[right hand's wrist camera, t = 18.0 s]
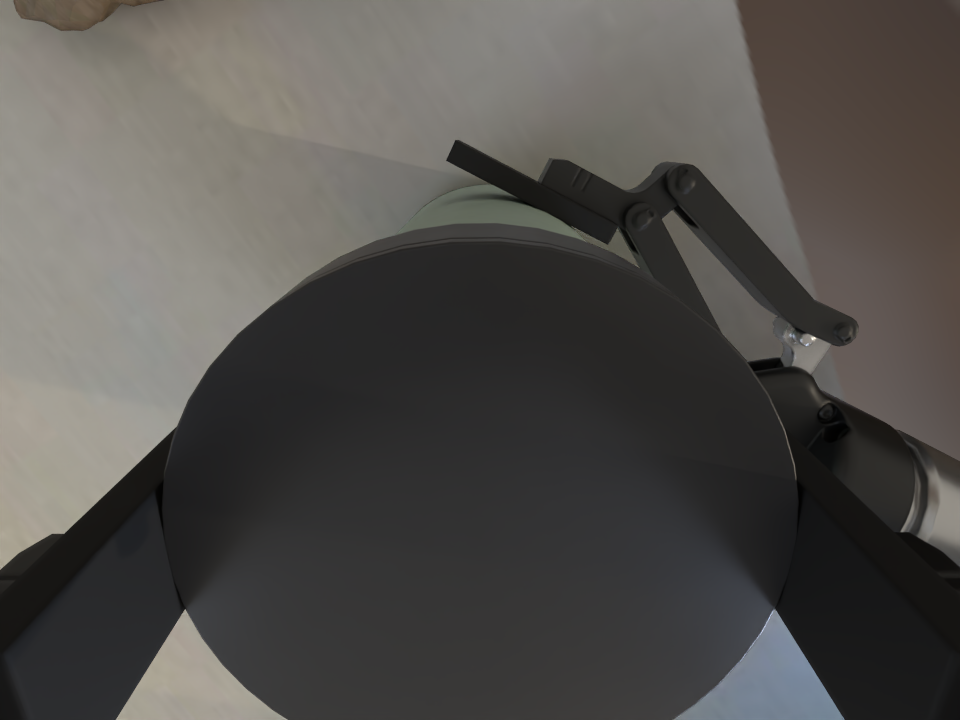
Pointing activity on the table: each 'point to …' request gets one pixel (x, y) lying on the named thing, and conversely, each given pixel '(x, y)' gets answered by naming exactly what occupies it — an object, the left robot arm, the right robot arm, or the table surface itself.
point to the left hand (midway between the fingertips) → (393, 281)
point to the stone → (71, 11)
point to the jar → (485, 211)
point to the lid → (480, 489)
